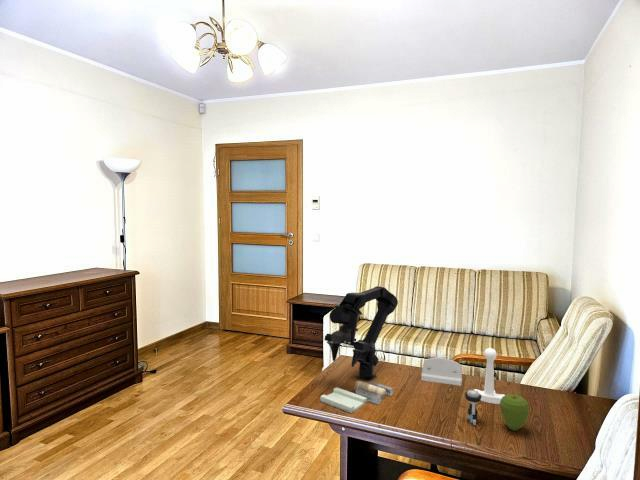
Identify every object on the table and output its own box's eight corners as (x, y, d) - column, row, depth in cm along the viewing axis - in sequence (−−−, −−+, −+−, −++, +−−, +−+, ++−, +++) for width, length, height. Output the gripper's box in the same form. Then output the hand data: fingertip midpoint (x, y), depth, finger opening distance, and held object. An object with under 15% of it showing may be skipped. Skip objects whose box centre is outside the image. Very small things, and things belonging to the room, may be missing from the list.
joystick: (472, 399, 156) (474, 347, 154) (475, 391, 163) (476, 341, 161) (504, 405, 151) (506, 352, 149) (505, 397, 158) (507, 346, 156)
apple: (533, 430, 134) (535, 396, 133) (518, 438, 130) (520, 403, 129) (508, 419, 141) (510, 386, 141) (493, 426, 137) (495, 392, 136)
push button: (482, 427, 136) (483, 398, 135) (466, 425, 137) (466, 396, 136) (479, 417, 143) (480, 389, 142) (462, 415, 144) (463, 388, 143)
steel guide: (370, 387, 166) (371, 381, 166) (392, 394, 160) (392, 388, 160) (355, 396, 158) (355, 390, 158) (378, 404, 152) (378, 398, 151)
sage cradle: (336, 392, 162) (336, 387, 162) (366, 402, 153) (366, 397, 153) (320, 401, 154) (320, 396, 154) (351, 413, 145) (351, 407, 145)
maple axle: (354, 392, 162) (354, 382, 162) (359, 388, 166) (359, 378, 165) (380, 401, 155) (380, 391, 154) (386, 397, 158) (385, 387, 158)
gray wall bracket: (420, 380, 173) (421, 355, 176) (421, 379, 178) (422, 355, 180) (462, 386, 168) (463, 360, 170) (462, 385, 172) (463, 360, 174)
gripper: (319, 319, 166) (312, 358, 164) (358, 328, 154) (351, 371, 152) (335, 320, 174) (329, 357, 172) (373, 329, 162) (366, 369, 161)
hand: (343, 363), depth 164 cm, fingers open, 9 cm apart
